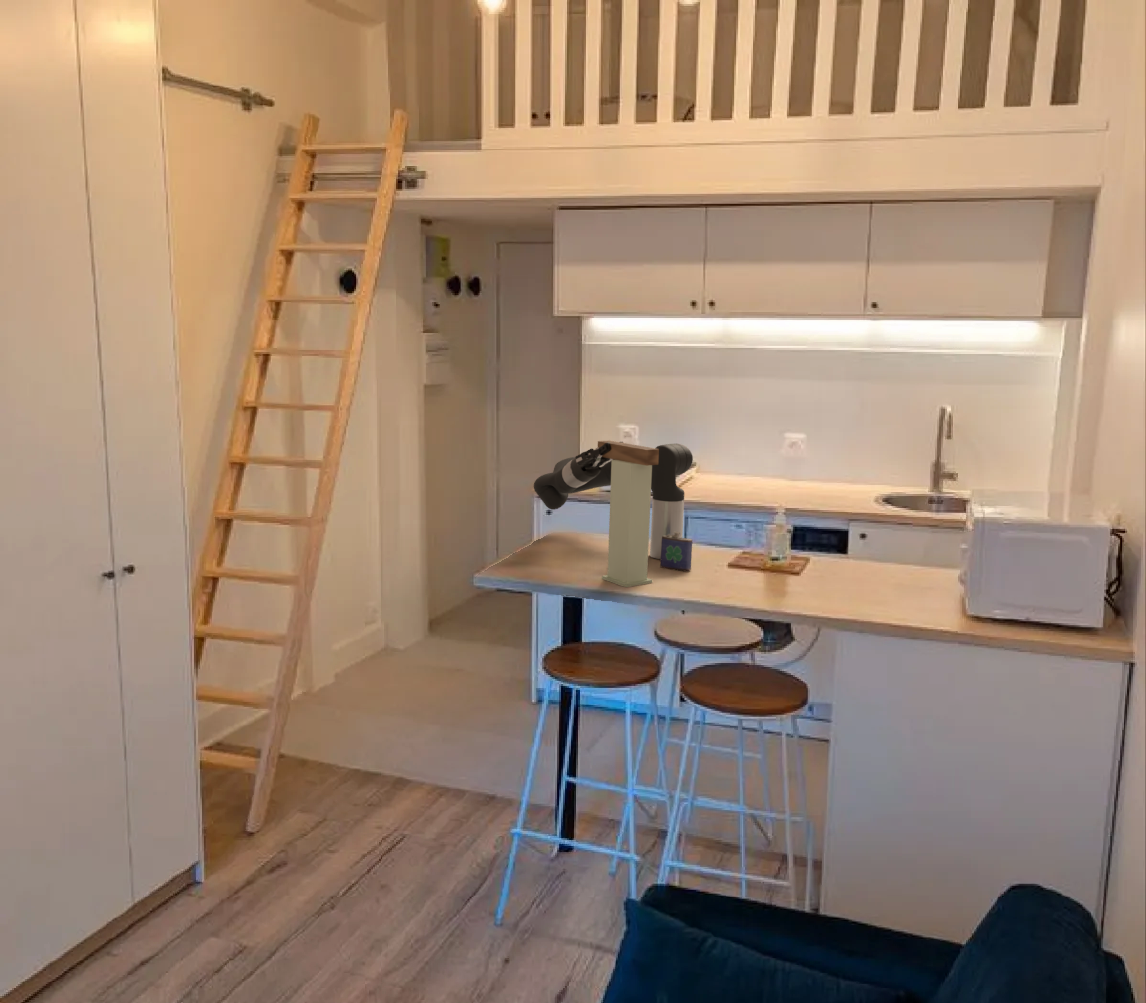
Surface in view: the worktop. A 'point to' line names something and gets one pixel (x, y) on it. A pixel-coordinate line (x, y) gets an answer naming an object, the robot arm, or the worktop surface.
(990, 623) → the worktop surface
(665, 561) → the flask
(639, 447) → the rail
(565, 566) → the worktop surface
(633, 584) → the stand
